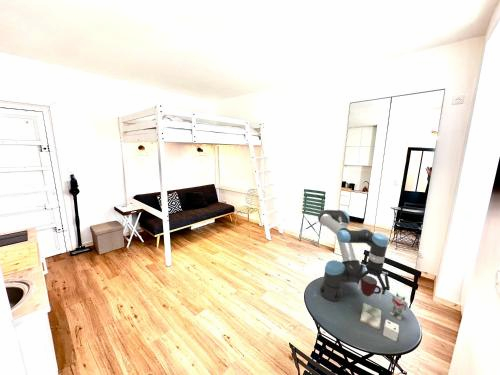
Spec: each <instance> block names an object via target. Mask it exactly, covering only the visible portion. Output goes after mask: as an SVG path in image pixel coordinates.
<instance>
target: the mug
mask: <svg viewBox="0 0 500 375" xmlns="http://www.w3.org/2000/svg"><path fill="white" fill-rule="evenodd" d="M377 280H378V279H376V278H374V277H373V276H372V275H368V274H367V275H366V276H364V277H363V278H361V286H360V290H361V292H362V294H363V295H364V296H366V297H371V296H372V295H374V294H376V295H377V294H378V295H380V293H381V287H380V286H379V285H378V281H377ZM376 289H378V291H375V290H376Z"/></svg>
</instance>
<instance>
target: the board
mask: <svg viewBox="0 0 500 375" xmlns="http://www.w3.org/2000/svg"><path fill="white" fill-rule="evenodd" d="M361 308H362V309H361V314H360V320H359V321H360V322H362V323H364V324H366V325H369V326H371V327H373V328H375V329H377V330H379V331H380V330H381V324H382V322H381V321H382V318H381V317H382V310H381V309H379V308H377V307H374V306H371V305H370V304H367V303H365V302H363V304H362V307H361Z"/></svg>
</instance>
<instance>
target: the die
mask: <svg viewBox="0 0 500 375" xmlns="http://www.w3.org/2000/svg"><path fill="white" fill-rule="evenodd" d="M399 327H400V326H399V324H397V323H395V322H392V321H391V320H389V319H385V321H384V325H383V333H382V335H383V336H384V337H385V338H388V339H390V340H392V341H394V342H397V341H398V336H399V332H400V330H399V329H400V328H399Z"/></svg>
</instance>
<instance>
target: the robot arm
mask: <svg viewBox="0 0 500 375" xmlns="http://www.w3.org/2000/svg"><path fill="white" fill-rule="evenodd" d="M317 219H318V220H317V221H318V222H319V223H320V224H321V226H324V227H326V228H327V229H329V230H330V231H331V232H332V233H334V234H335V235H336V239H337V244H338V246H339V250H340V253H341V254H340V255H341V257H342V261H338V260H334V259H333V260H329V261H327V262H326V265H325V267H324V274H323V281H322V282H321V284H320V286H319V288H318V289H319V290H318V291H319V294H320V296H322V297H323V298H324V299H326V300H327V301H330V302H335V303H337V302H340V301H342V299H343V294H344V293H343V290H342V283H343V284H344V283H346V284H347V283H350V284H351V283H354V284H358V286H357V290H358V291H360V290H361V278H363V277H364V276H366V275H367V276H368V275H370V276H374V277H376V278H377V280H378V282H379V284H380V286H381V287H380V289H381V292H380V293H379V298H378V299H379V300H381V299H382V295H385V294H386V293H385V292H386V291H390V289H391V288H390V281H389V277H388V275H389V272H388V271H383V267H384V262H385V258H386V253H387V247H388V244H389V238H388V236H387V235H385V234H382V233H380V232H379V233H373V231H371V230H370V229H367V228H364V227H362V228H361V229H358V230H354V229H353V230H350V229H349V228H348V226H349V224H350V215H349V214H348V212H346V211H345V210H341V209H337V210H336V209H325V210H322V211H320V212H319V214H318V217H317ZM353 244H367V246H369V248H370V249H369V254H368V258H367V264H365V263H361V262H360V260H359V259H357V258H356V255H355V251H354V248H353ZM382 275H383V277H384V280H383V277H382ZM384 281H385V282H384Z"/></svg>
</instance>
